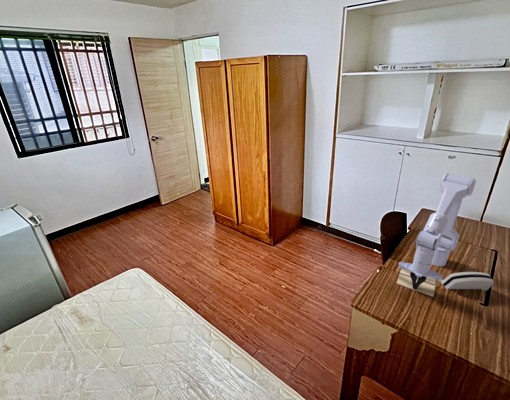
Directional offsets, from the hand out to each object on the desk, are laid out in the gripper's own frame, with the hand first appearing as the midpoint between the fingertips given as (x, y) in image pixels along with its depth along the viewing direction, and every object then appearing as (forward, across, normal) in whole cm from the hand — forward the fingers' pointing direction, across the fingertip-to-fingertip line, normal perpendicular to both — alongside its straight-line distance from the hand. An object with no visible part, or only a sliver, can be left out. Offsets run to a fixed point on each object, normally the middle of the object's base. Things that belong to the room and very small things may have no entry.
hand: (414, 287), depth 108 cm
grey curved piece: (+2, +16, +12) cm, 20 cm away
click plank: (+1, 0, +2) cm, 3 cm away
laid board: (+1, 0, +10) cm, 10 cm away
